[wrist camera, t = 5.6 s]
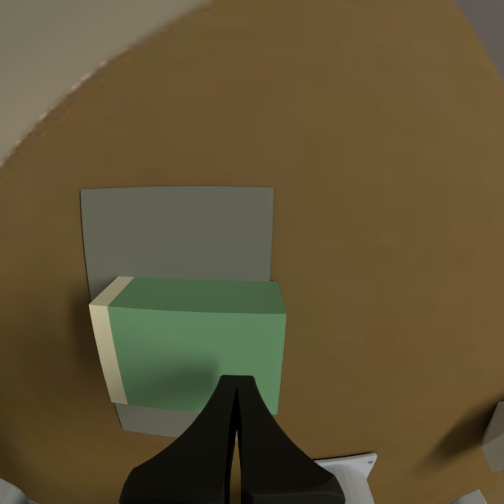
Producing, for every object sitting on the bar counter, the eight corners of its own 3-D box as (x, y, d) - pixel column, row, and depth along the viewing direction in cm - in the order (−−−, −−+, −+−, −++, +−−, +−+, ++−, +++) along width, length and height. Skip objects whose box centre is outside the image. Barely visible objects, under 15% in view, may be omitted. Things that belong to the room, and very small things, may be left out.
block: (277, 414, 15) (111, 401, 15) (271, 370, 19) (131, 363, 19) (286, 313, 13) (88, 304, 13) (277, 281, 17) (118, 276, 17)
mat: (260, 439, 21) (260, 441, 21) (123, 427, 20) (123, 429, 20) (273, 187, 16) (273, 187, 16) (82, 189, 16) (80, 189, 16)
